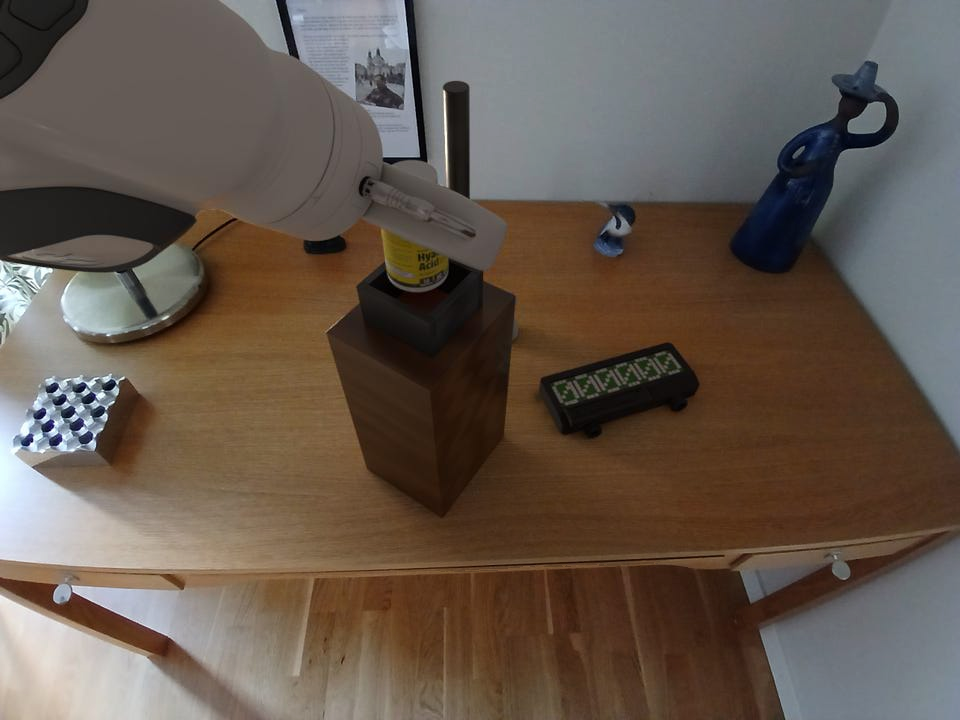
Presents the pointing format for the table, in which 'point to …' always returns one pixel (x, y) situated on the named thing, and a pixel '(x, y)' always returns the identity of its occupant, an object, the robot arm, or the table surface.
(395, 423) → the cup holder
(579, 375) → the digital display
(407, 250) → the supplement bottle
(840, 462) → the table surface
